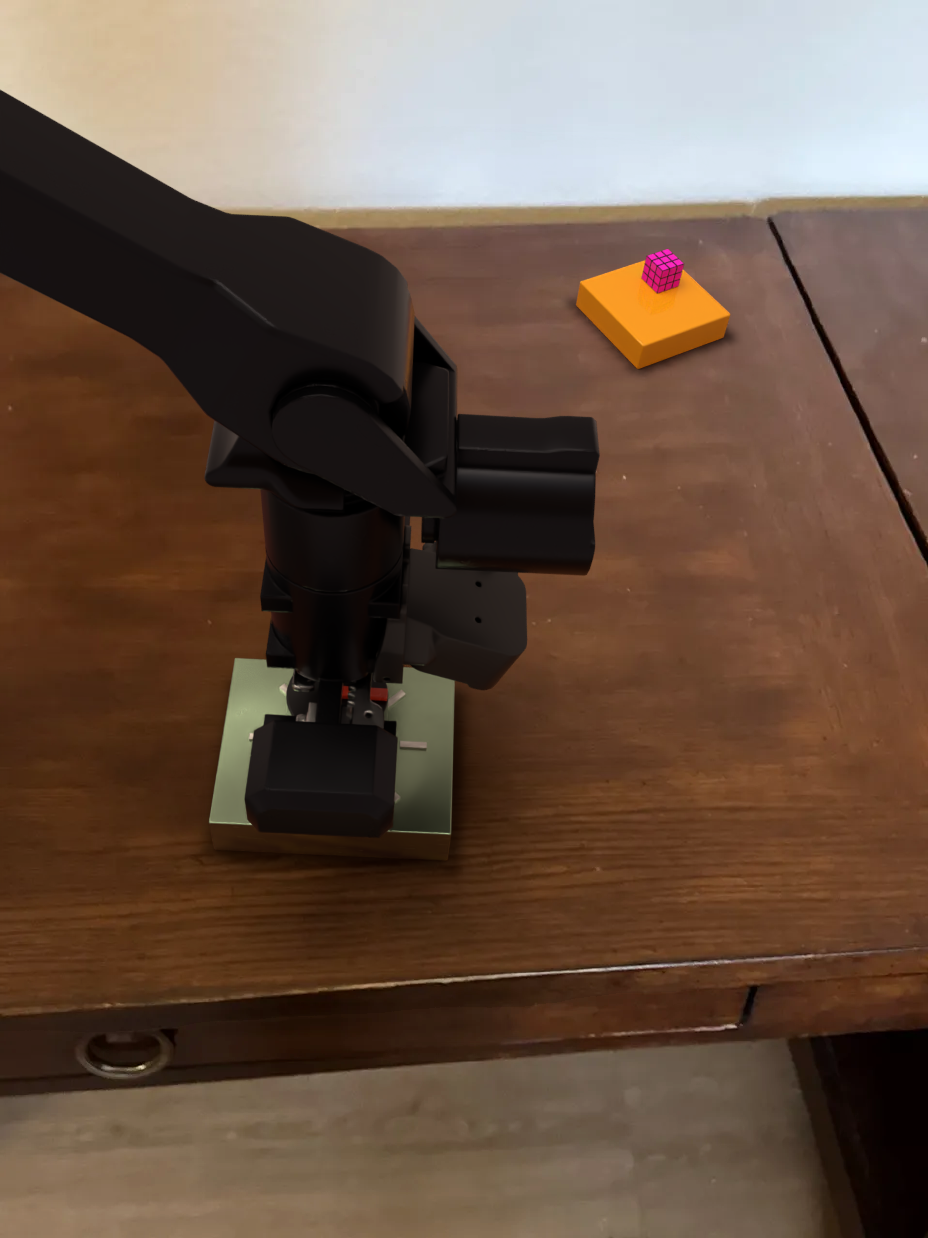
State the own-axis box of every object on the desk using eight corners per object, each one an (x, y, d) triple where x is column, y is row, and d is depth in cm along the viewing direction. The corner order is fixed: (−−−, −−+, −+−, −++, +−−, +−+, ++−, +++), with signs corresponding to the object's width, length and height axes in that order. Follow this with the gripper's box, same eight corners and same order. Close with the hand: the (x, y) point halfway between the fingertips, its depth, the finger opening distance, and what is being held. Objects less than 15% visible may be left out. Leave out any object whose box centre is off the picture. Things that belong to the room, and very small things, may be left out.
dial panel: (213, 850, 62) (207, 821, 60) (238, 688, 68) (234, 655, 66) (447, 861, 63) (451, 833, 60) (451, 699, 69) (455, 667, 66)
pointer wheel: (284, 781, 61) (280, 731, 58) (294, 698, 64) (291, 646, 61) (383, 786, 62) (385, 736, 58) (389, 703, 65) (391, 651, 61)
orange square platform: (724, 338, 90) (738, 291, 86) (637, 370, 87) (648, 323, 83) (660, 276, 94) (671, 229, 90) (575, 305, 91) (583, 257, 87)
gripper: (532, 743, 45) (493, 914, 57) (524, 397, 56) (493, 603, 69) (230, 727, 44) (256, 904, 57) (283, 381, 56) (295, 592, 68)
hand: (337, 737), depth 63 cm, fingers closed on pointer wheel, 5 cm apart
